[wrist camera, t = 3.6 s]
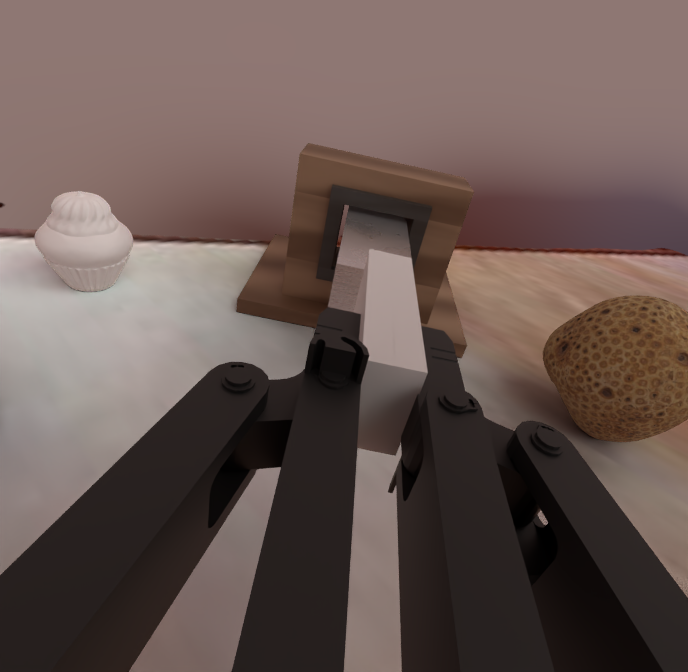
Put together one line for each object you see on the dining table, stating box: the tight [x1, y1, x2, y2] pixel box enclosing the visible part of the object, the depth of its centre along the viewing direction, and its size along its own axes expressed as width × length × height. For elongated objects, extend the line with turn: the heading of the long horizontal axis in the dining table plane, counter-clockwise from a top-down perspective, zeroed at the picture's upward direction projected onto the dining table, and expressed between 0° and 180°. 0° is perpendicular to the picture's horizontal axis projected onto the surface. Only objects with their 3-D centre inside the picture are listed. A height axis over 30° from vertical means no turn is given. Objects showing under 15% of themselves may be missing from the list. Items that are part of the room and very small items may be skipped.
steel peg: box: [328, 205, 414, 312], centre depth 33 cm, size 22×4×4 cm, turn 176°
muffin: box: [35, 191, 133, 292], centre depth 32 cm, size 6×6×7 cm
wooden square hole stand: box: [237, 143, 474, 358], centre depth 37 cm, size 14×18×12 cm
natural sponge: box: [543, 296, 688, 442], centre depth 28 cm, size 9×9×10 cm
